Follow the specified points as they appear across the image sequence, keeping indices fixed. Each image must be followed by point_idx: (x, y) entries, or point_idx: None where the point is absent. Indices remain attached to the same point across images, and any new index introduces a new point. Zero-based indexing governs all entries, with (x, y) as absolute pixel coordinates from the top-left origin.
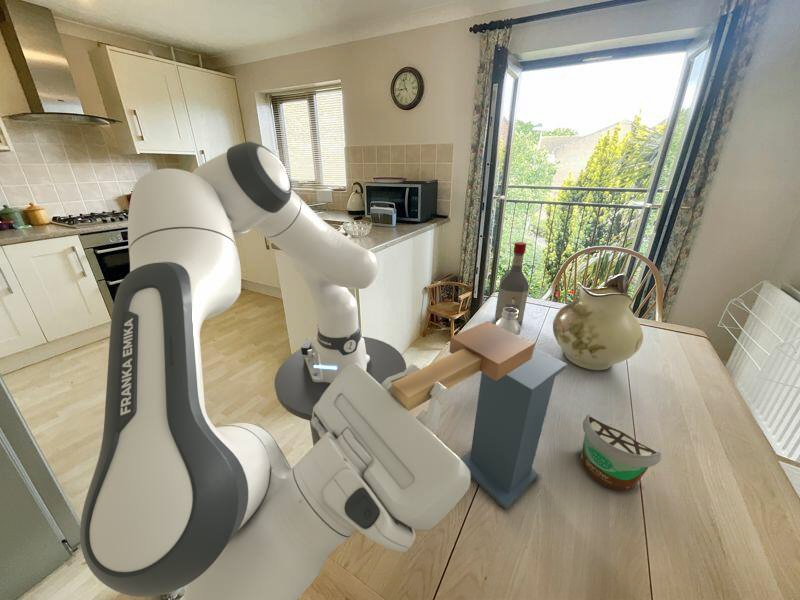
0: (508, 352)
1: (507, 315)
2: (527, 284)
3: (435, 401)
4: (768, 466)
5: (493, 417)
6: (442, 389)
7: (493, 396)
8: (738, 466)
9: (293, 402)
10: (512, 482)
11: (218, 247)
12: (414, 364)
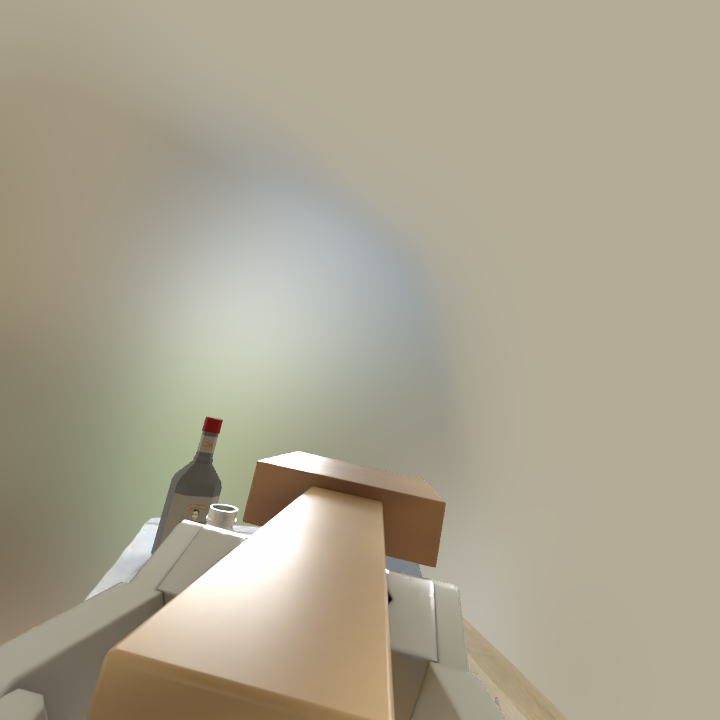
0: (418, 486)
1: (220, 517)
2: (219, 484)
3: (481, 687)
4: (524, 680)
5: None
6: (449, 595)
7: None
8: (511, 694)
9: None
10: None
11: None
12: (197, 525)
